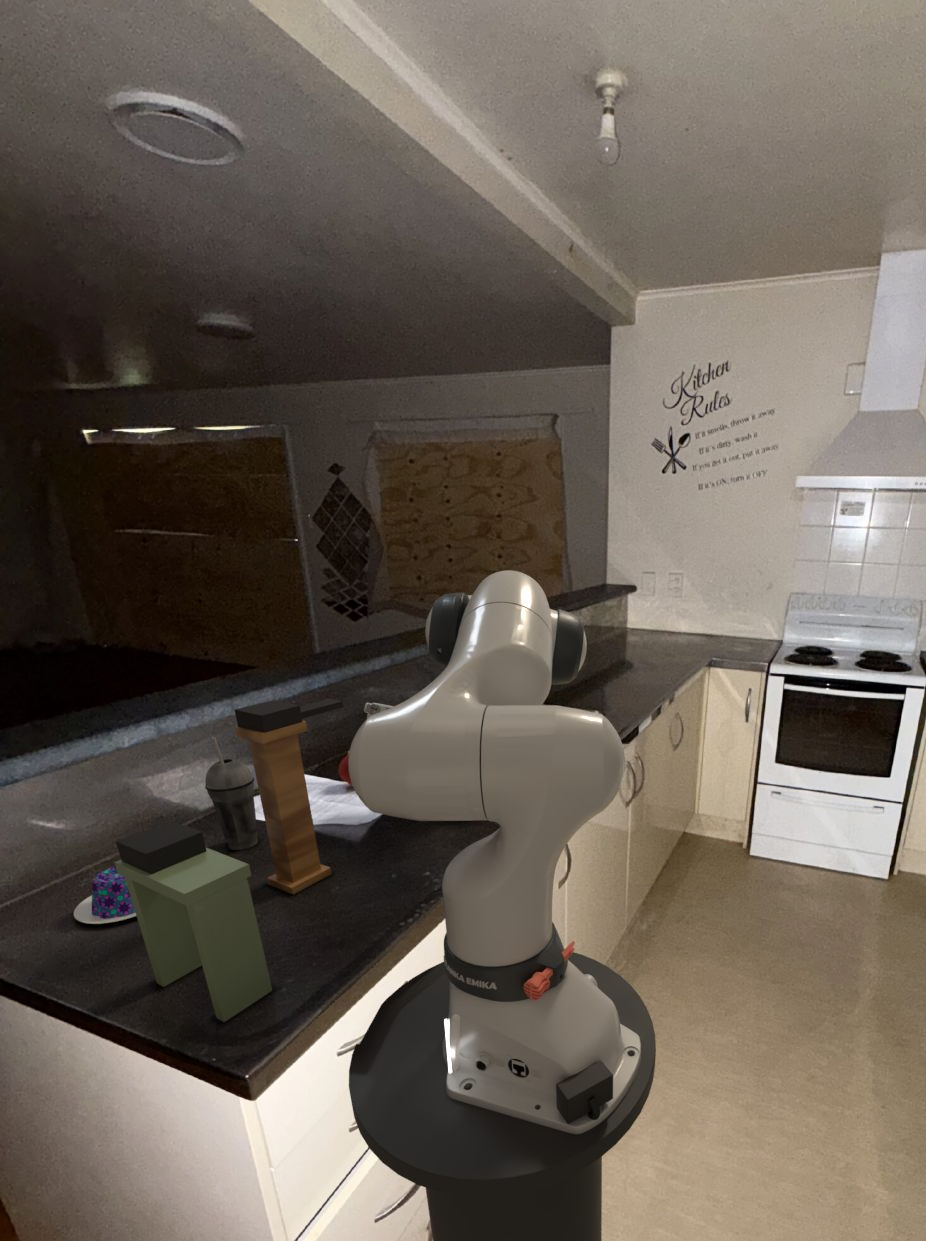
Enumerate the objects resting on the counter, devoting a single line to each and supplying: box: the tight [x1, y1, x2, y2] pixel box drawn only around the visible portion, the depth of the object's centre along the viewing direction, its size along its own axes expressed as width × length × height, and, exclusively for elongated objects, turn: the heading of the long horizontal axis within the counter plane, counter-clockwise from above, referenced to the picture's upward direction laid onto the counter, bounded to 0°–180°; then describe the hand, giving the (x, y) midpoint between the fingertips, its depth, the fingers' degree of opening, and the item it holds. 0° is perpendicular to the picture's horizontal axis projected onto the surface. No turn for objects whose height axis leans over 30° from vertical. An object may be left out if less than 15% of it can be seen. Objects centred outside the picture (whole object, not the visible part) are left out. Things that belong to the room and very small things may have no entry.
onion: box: [338, 750, 353, 787], centre depth 134 cm, size 6×6×8 cm
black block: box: [115, 820, 207, 874], centre depth 71 cm, size 6×6×2 cm
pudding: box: [73, 866, 137, 925], centre depth 92 cm, size 12×12×5 cm
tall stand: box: [234, 720, 333, 895], centre depth 95 cm, size 6×7×26 cm
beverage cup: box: [204, 736, 259, 851], centre depth 107 cm, size 7×7×20 cm
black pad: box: [234, 698, 344, 733], centre depth 94 cm, size 6×14×2 cm, turn 151°
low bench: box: [114, 847, 273, 1023], centre depth 73 cm, size 14×7×17 cm, turn 61°
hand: (386, 711), depth 109 cm, fingers open, 8 cm apart
